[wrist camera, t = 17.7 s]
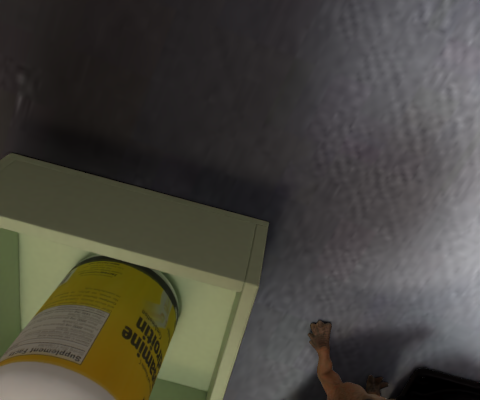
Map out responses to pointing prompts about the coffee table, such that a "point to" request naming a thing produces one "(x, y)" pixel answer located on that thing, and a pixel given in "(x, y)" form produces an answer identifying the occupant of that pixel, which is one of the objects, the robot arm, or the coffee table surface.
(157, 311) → the pill bottle
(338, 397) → the dinosaur figurine
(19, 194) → the open storage box
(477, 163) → the coffee table surface
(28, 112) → the coffee table surface
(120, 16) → the coffee table surface
